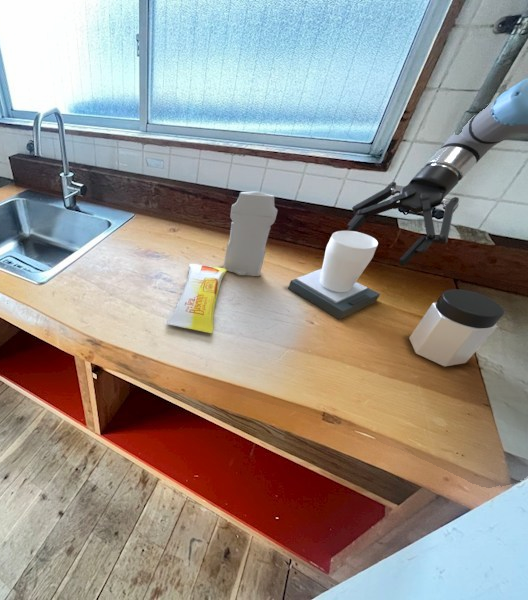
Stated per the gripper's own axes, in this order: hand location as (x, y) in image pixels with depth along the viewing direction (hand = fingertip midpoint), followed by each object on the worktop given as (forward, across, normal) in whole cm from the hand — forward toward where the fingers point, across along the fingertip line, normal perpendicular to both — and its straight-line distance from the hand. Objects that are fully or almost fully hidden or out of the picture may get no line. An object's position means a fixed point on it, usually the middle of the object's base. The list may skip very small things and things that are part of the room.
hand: (370, 250), depth 76 cm
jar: (+13, -22, -1) cm, 25 cm away
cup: (+11, 0, +2) cm, 11 cm away
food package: (+33, +15, +19) cm, 41 cm away
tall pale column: (+21, +19, +7) cm, 29 cm away
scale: (+13, 0, 0) cm, 13 cm away
